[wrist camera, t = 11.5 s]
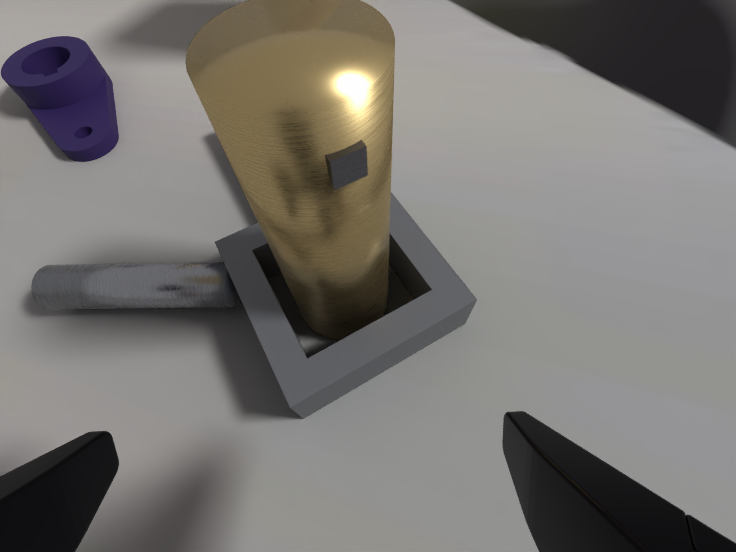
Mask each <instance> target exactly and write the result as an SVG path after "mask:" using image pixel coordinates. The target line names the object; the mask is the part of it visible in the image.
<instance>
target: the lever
mask: <svg viewBox="0 0 736 552" xmlns="http://www.w3.org/2000/svg"><path fill="white" fill-rule="evenodd" d="M1 76H2V78H3V79H4V81H5V82H6V83H7V84H8V85H9V86H10V87H11V88H12V89H13V90H14V91H15V92H16V93H17V94H18V96H19V97H20V98H21V99H22V100H23V101H24V102H25V103H26V104H27V106H28V107H29V108H30V110H31V111H32V112H33V114H34V115H35V116H36V118H37V119H38V120H39V122H40V123H41V124H42V126H43V127H44V128H45V130H46V131H47V132H48V134H49V135H50V136H51V138H52V139H53V140H54V142H55V143H56V144H57V145H58V147H59V148H60V149H61V150H62V151H63V152H64V153H65V154H66V155H67V156H68V157H69V158H70V159H72V160H74V161H79V162H86V161H92V160H95V159H98V158H100V157H102V156H104V155H106V154H107V153H109V152H110V151H111V150H112V149H113V148H114V147H115V146H116V144H117V142H118V139H119V135H118V127H117V118H116V110H115V101H114V93H113V85H112V81H111V79H110V77H109V76H108V74H107V73H106V71H105V70H104V68H103V67H102V66H101V64H100V63H99V61H98V60H97V58H96V57H95V55H94V54H93V52H92V51H91V49H90V48H89V46H88V45H87V43H86V42H85V41H83V40H81V39H79V38H76V37H69V36H60V37H52V38H47V39H43V40H40V41H37V42H34V43H31V44H29V45H27V46H25V47H23V48H21V49H20V50H18V51H17V52H15V53H14V54H13V55H11V56H10V57H9V58H8V59H7V60H6V62H5V63H4V64H3V66H2V69H1Z"/></svg>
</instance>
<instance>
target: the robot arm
mask: <svg viewBox="0 0 736 552" xmlns="http://www.w3.org/2000/svg"><path fill="white" fill-rule="evenodd" d="M502 444H503V451H504V455H505V458H506V461H507V464H508V468H509V471H510V474H511V477H512V480H513V483H514V486H515V489H516V492H517V495H518V498H519V501H520V504H521V508H522V511H523V514H524V516H525V519H526V522H527V525H528V527H529V529H530V532H531V534H532V537H533V539H534V541H535V543H536V546H537V548H538V550H539V552H736V543H734V542H733V541H731V540H730V539H728V538H726V537H725V536H723V535H721V534H720V533H718V532H716V531H715V530H713V529H711V528H710V527H708V526H707V525H705V524H703V523H702V522H700V521H699V520H697V519H695V518H694V517H692V516H691V515H685V512H684V511H682V510H681V509H679V508H678V507H676V506H674V505H673V504H671V503H670V502H668V501H666V500H665V499H663V498H662V497H660V496H658V495H657V494H655V493H654V492H652V491H650V490H649V489H647V488H646V487H644V486H642V485H641V484H639V483H638V482H636V481H634V480H633V479H631V478H630V477H628V476H626V475H625V474H623V473H622V472H620V471H618V470H617V469H615V468H614V467H612V466H610V465H609V464H607V463H606V462H604V461H602V460H601V459H599V458H598V457H596V456H594V455H593V454H591V453H590V452H588V451H586V450H585V449H583V448H582V447H580V446H578V445H577V444H575V443H574V442H572V441H570V440H569V439H567V438H566V437H564V436H562V435H561V434H559V433H558V432H556V431H554V430H553V429H551V428H550V427H548V426H547V425H545V424H543V423H542V422H540V421H539V420H537V419H535V418H534V417H532V416H531V415H529V414H527V413H526V412H523V411H516V412H507V413H505V415H504V422H503V443H502ZM118 466H119V460H118V456H117V452H116V449H115V445H114V441H113V438H112V435H111V434H110V433H109V432H107V431H96V432H88V433H86V434H84V435H82V436H80V437H78V438H76V439H74V440H72V441H70V442H68V443H66V444H64V445H62V446H60V447H58V448H56V449H54V450H52V451H50V452H48V453H46V454H44V455H42V456H40V457H38V458H36V459H34V460H32V461H30V462H28V463H26V464H24V465H22V466H20V467H18V468H16V469H14V470H12V471H10V472H8V473H6V474H4V475H2V476H0V552H75V551H76V549H77V548H78V546H79V544H80V542H81V541H82V539H83V537H84V535H85V533H86V531H87V530H88V528H89V526H90V524H91V522H92V520H93V518H94V516H95V514H96V512H97V510H98V508H99V506H100V504H101V502H102V500H103V498H104V496H105V494H106V493H107V491H108V489H109V487H110V485H111V483H112V481H113V479H114V477H115V475H116V473H117V470H118Z"/></svg>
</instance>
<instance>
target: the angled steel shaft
mask: <svg viewBox="0 0 736 552" xmlns="http://www.w3.org/2000/svg"><path fill="white" fill-rule="evenodd" d="M32 294H33V297H34V299H35V301H36V302H37V303H38V304H39V305H40V306H41V307H43V308H45V309H116V308H194V307H235V306H237V305H238V303H239V301H240V297H239V294H238V292H237V290H236V288H235V286H234V283H233V281H232V279H231V277H230V275H229V272H228V270H227V268H226V266H225V264H224V262H203V263H143V264H82V265H47V266H44V267H42V268H41V269H39V270H38V271H37V273H36V274H35V276H34V278H33V281H32Z"/></svg>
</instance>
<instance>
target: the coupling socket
mask: <svg viewBox="0 0 736 552" xmlns="http://www.w3.org/2000/svg"><path fill="white" fill-rule="evenodd" d="M215 244H216V246H217V248H218V250H219V253H220V255H221V257H222V259H223V261H224V264H225V266H226V268H227V270H228V272H229V275H230V277H231V279H232V281H233V283H234V286H235V288H236V290H237V292H238V294H239V297H240V299H241V301H242V303H243V305H244V308H245V310H246V312H247V314H248V316H249V319H250V321H251V323H252V325H253V328H254V330H255V332H256V334H257V336H258V339H259V341H260V343H261V345H262V347H263V350H264V352H265V354H266V356H267V358H268V361H269V363H270V365H271V367H272V369H273V372H274V374H275V376H276V378H277V380H278V383H279V385H280V387H281V389H282V391H283V394H284V396H285V398H286V400H287V403H288V405H289V407H290V408H291V409H292V410H293V411H294V412H296V413H297V414H298V415H299V416H300V417H302V418H303V419H304V418H305V417H307V416H309V415H311V414H312V413H314V412H316V411H317V410H319V409H321V408H322V407H324V406H326V405H328V404H329V403H331V402H333V401H334V400H336V399H338V398H339V397H341V396H343V395H345V394H346V393H348V392H350V391H351V390H353V389H355V388H356V387H358V386H360V385H362V384H363V383H365V382H367V381H368V380H370V379H372V378H373V377H375V376H377V375H379V374H380V373H382V372H384V371H385V370H387V369H389V368H390V367H392V366H394V365H396V364H397V363H399V362H401V361H402V360H404V359H406V358H407V357H409V356H411V355H413V354H414V353H416V352H418V351H419V350H421V349H423V348H424V347H426V346H428V345H430V344H431V343H433V342H435V341H436V340H438V339H440V338H441V337H443V336H445V335H447V334H448V333H450V332H452V331H453V330H455V329H457V328H458V327H460V326H462V325H464V324H465V323H466V321H467V319H468V317H469V315H470V313H471V311H472V309H473V307H474V305H475V303H476V301H477V299H476V298H475V296H474V295H473V294H472V293H471V291H470V290H469V289H468V288H467V286H466V285H465V284H464V283H463V281H462V280H461V279H460V278H459V276H458V275H457V274H456V273H455V271H454V270H453V269H452V268H451V266H450V265H449V264H448V263H447V261H446V260H445V259H444V258H443V256H442V255H441V254H440V253H439V251H438V250H437V249H436V248H435V246H434V245H433V244H432V243H431V241H430V240H429V239H428V238H427V236H426V235H425V234H424V233H423V231H422V230H421V229H420V228H419V226H418V225H417V224H416V223H415V221H414V220H413V219H412V218H411V216H410V215H409V214H408V213H407V211H406V210H405V209H404V208H403V206H402V205H401V204H400V203H399V201H398V200H397V199H396V198H395V196H394V195H393V194H392V193H391V200H390V235H389V263H390V265H391V266H392V268H393V269H394V270H395V272H396V273H397V275H398V276H399V277H400V279H401V280H402V282H403V283H404V285H405V286H406V287H407V289H408V290H409V292H410V293H411V294H412V296H413V297H414V300H413V301H411V302H409V303H407V304H405V305H403V306H402V307H400V308H398V309H396V310H394V311H393V312H391V313H389V314H387V315H385V316H384V317H382V318H380V319H378V320H376V321H374V322H373V323H371V324H369V325H367V326H365V327H364V328H362V329H360V330H358V331H356V332H355V333H353V334H351V335H349V336H347V337H346V338H344V339H342V340H340V341H338V342H336V343H335V344H333V345H331V346H329V347H327V348H326V349H324V350H322V351H320V352H318V353H317V354H315V355H313V356H311V357H309V358H308V357H307V355H306V353H305V351H304V349H303V347H302V345H301V343H300V341H299V339H298V337H297V335H296V333H295V331H294V329H293V327H292V325H291V323H290V321H289V319H288V317H287V315H286V313H285V311H284V310H283V308H282V306H281V304H280V302H279V300H278V298H277V296H276V294H275V292H274V290H273V288H272V286H271V284H270V282H269V280H268V278H269V277H271V276H273V275H275V274H277V273H279V272H281V270H280V268H279V266H278V264H277V262H276V259H275V257H274V255H273V253H272V251H271V249H270V247H269V245H268V242H267V240H266V238H265V236H264V234H263V232H262V230H261V228H260V226H259V223H256V224H253V225H251V226H249V227H247V228H245V229H242V230H240V231H238V232H236V233H234V234H231V235H229V236H227V237H225V238H222V239H220V240H218V241H216V242H215Z"/></svg>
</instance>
